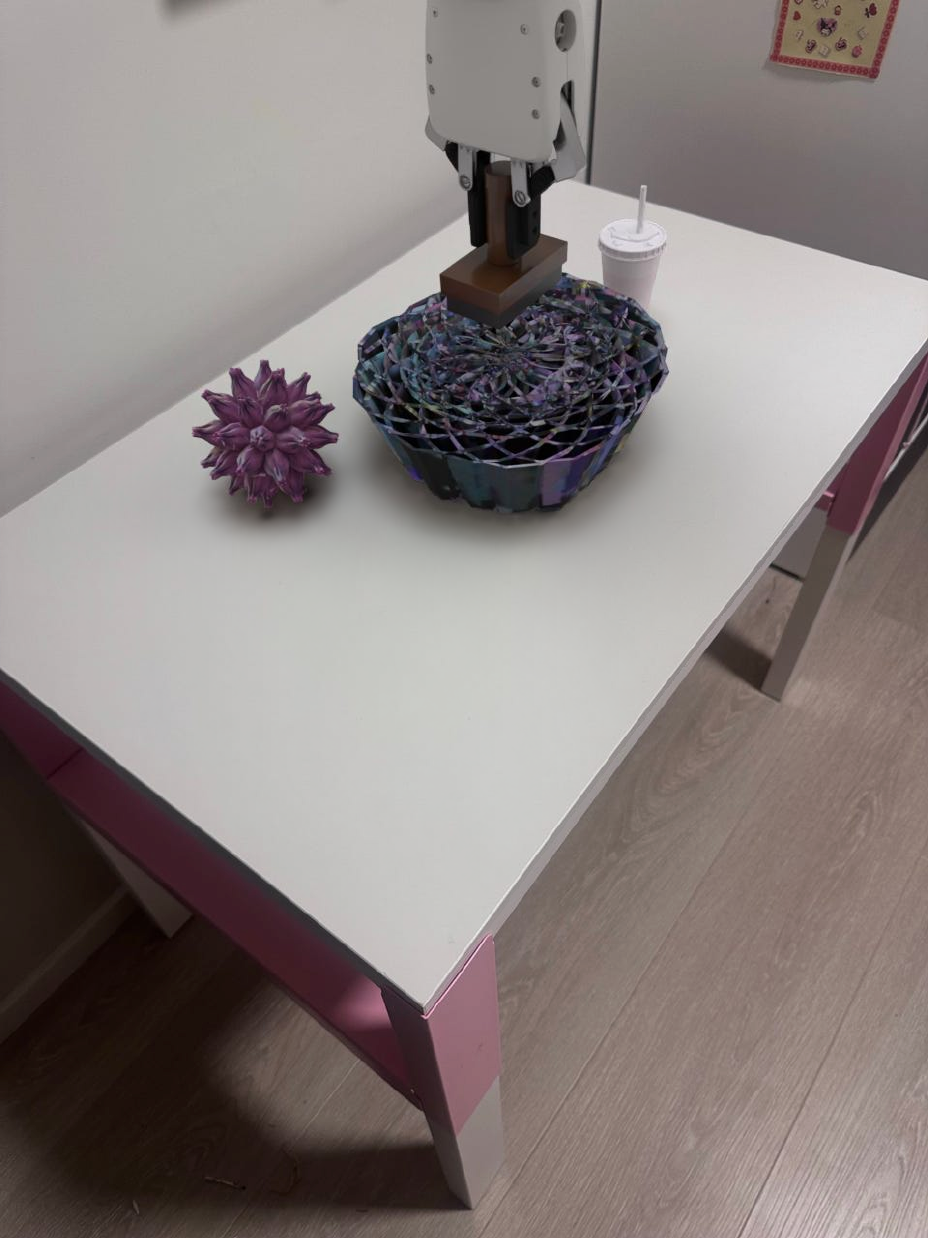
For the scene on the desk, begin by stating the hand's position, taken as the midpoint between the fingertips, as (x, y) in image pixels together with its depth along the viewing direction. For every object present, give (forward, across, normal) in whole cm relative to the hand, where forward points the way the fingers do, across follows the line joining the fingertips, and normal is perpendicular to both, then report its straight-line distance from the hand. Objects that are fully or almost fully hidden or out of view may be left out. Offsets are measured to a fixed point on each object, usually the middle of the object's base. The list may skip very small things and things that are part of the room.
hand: (504, 243), depth 65 cm
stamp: (+4, 0, 0) cm, 4 cm away
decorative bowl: (+18, 0, 0) cm, 18 cm away
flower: (+18, +12, +16) cm, 27 cm away
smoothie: (+18, 0, -20) cm, 27 cm away
